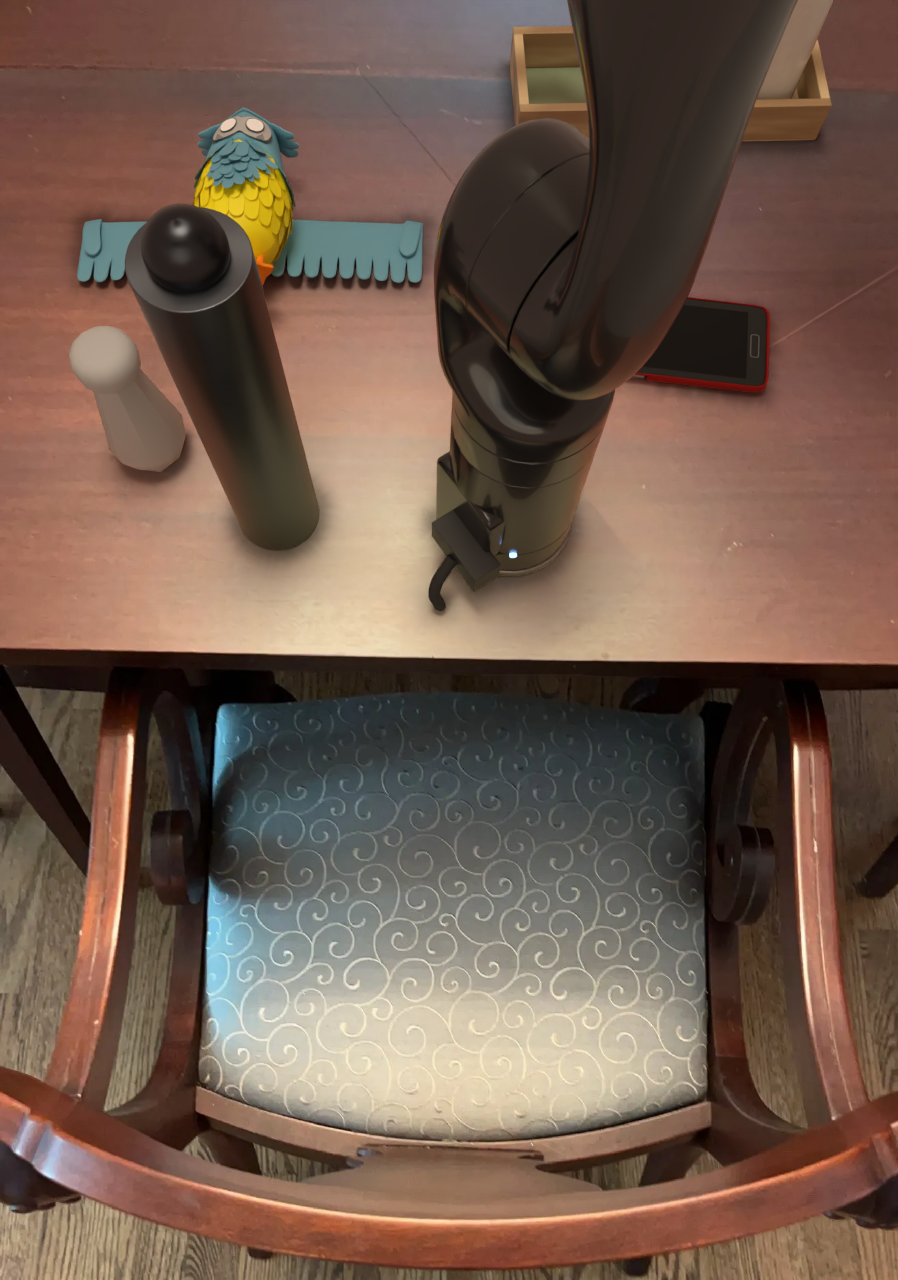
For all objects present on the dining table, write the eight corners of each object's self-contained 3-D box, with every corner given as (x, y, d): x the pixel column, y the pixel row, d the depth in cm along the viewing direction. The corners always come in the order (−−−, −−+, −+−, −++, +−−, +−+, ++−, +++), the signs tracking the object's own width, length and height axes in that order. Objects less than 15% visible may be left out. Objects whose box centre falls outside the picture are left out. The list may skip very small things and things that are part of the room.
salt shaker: (110, 425, 73) (45, 320, 61) (183, 406, 74) (133, 298, 62) (125, 491, 72) (61, 396, 59) (200, 471, 72) (152, 373, 60)
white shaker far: (751, 134, 82) (808, -9, 70) (709, 91, 84) (757, -57, 71) (802, 105, 83) (867, -40, 71) (759, 63, 85) (815, -87, 72)
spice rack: (813, 144, 83) (832, 105, 79) (515, 150, 82) (520, 111, 78) (796, 63, 86) (814, 21, 82) (509, 68, 85) (512, 26, 81)
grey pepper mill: (265, 565, 70) (148, 298, 41) (224, 503, 72) (82, 204, 42) (334, 523, 71) (268, 235, 42) (292, 463, 73) (199, 145, 44)
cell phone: (765, 396, 75) (769, 389, 74) (579, 374, 75) (581, 367, 74) (767, 313, 77) (771, 305, 76) (587, 292, 78) (589, 284, 77)
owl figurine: (28, 244, 68) (55, 83, 73) (72, 322, 76) (93, 172, 81) (422, 245, 68) (421, 85, 73) (423, 322, 77) (422, 174, 81)
